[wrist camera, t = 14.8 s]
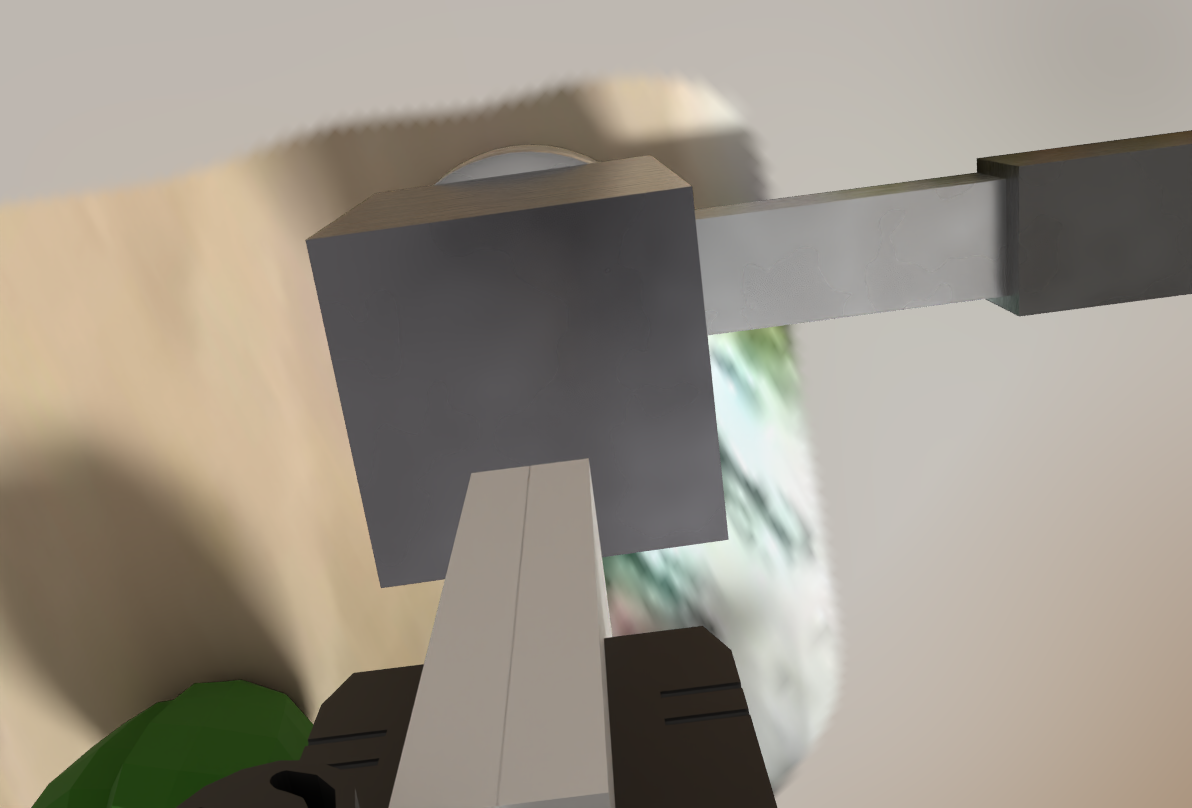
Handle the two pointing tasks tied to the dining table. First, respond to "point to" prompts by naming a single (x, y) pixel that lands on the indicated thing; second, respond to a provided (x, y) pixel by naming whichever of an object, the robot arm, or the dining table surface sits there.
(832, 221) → the ratchet
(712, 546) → the dining table surface
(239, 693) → the bell pepper
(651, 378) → the dark grey cube
